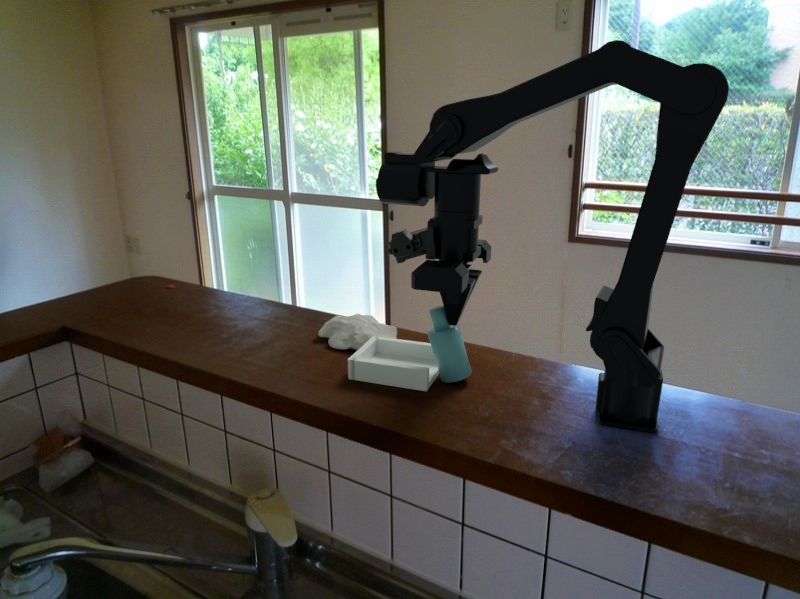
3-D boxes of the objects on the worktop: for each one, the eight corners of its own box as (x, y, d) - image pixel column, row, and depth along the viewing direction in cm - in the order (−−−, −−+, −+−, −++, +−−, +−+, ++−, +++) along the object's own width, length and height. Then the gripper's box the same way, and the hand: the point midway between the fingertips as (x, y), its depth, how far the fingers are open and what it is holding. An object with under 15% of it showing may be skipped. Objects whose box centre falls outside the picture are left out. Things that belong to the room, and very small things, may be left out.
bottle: (475, 367, 78) (456, 300, 76) (467, 380, 74) (447, 310, 72) (446, 371, 80) (426, 306, 78) (437, 384, 76) (417, 316, 74)
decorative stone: (305, 344, 91) (379, 373, 84) (303, 324, 89) (378, 352, 82) (346, 317, 99) (417, 341, 92) (345, 298, 97) (417, 321, 90)
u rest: (445, 363, 82) (445, 345, 82) (426, 391, 74) (426, 370, 73) (373, 353, 86) (373, 335, 85) (348, 379, 78) (347, 359, 77)
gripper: (418, 197, 81) (417, 298, 86) (369, 216, 64) (371, 341, 69) (494, 200, 78) (488, 306, 82) (463, 222, 61) (458, 353, 66)
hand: (453, 324), depth 75 cm, fingers closed
